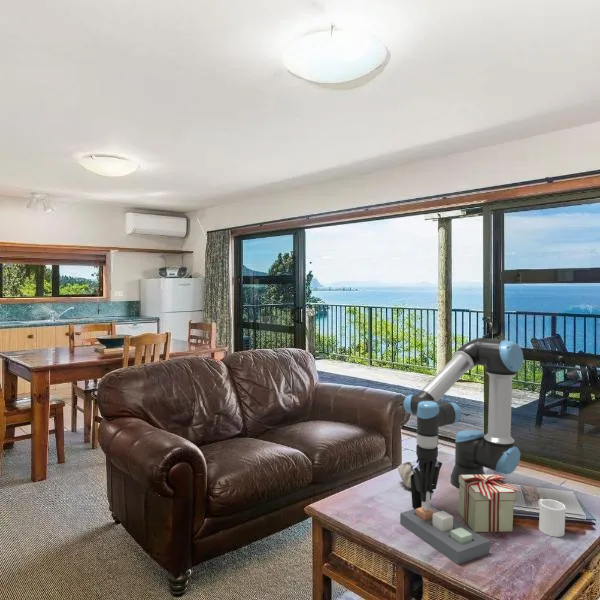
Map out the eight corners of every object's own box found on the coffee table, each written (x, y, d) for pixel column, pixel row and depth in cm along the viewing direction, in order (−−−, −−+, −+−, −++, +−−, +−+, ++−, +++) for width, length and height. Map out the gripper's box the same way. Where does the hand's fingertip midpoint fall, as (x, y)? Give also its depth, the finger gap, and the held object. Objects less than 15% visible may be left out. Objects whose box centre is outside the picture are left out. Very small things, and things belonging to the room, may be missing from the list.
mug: (548, 519, 181) (549, 493, 180) (569, 536, 169) (570, 509, 168) (527, 520, 180) (528, 494, 179) (548, 537, 168) (549, 510, 167)
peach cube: (425, 519, 178) (426, 505, 178) (435, 525, 174) (435, 511, 174) (415, 522, 176) (416, 508, 176) (424, 528, 172) (425, 514, 171)
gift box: (479, 539, 167) (481, 490, 166) (454, 513, 185) (455, 469, 184) (524, 535, 169) (526, 487, 168) (495, 510, 188) (496, 466, 187)
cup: (430, 513, 185) (431, 482, 184) (409, 510, 186) (410, 480, 186) (429, 503, 192) (429, 474, 192) (409, 501, 194) (410, 472, 193)
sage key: (460, 541, 163) (461, 527, 163) (471, 549, 159) (472, 534, 158) (450, 545, 161) (450, 530, 160) (461, 552, 157) (461, 537, 156)
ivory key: (442, 524, 170) (443, 510, 170) (452, 530, 166) (453, 516, 166) (432, 527, 168) (432, 513, 168) (442, 534, 164) (442, 519, 164)
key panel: (429, 515, 183) (429, 504, 183) (489, 553, 158) (489, 541, 158) (400, 523, 176) (400, 512, 176) (457, 564, 152) (458, 552, 151)
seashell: (415, 479, 215) (416, 457, 215) (432, 494, 201) (433, 470, 200) (394, 481, 212) (394, 459, 212) (410, 496, 198) (410, 473, 198)
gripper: (433, 439, 180) (432, 501, 181) (406, 444, 174) (404, 508, 175) (448, 445, 173) (446, 510, 174) (420, 451, 167) (418, 518, 168)
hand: (425, 509), depth 175 cm, fingers closed
